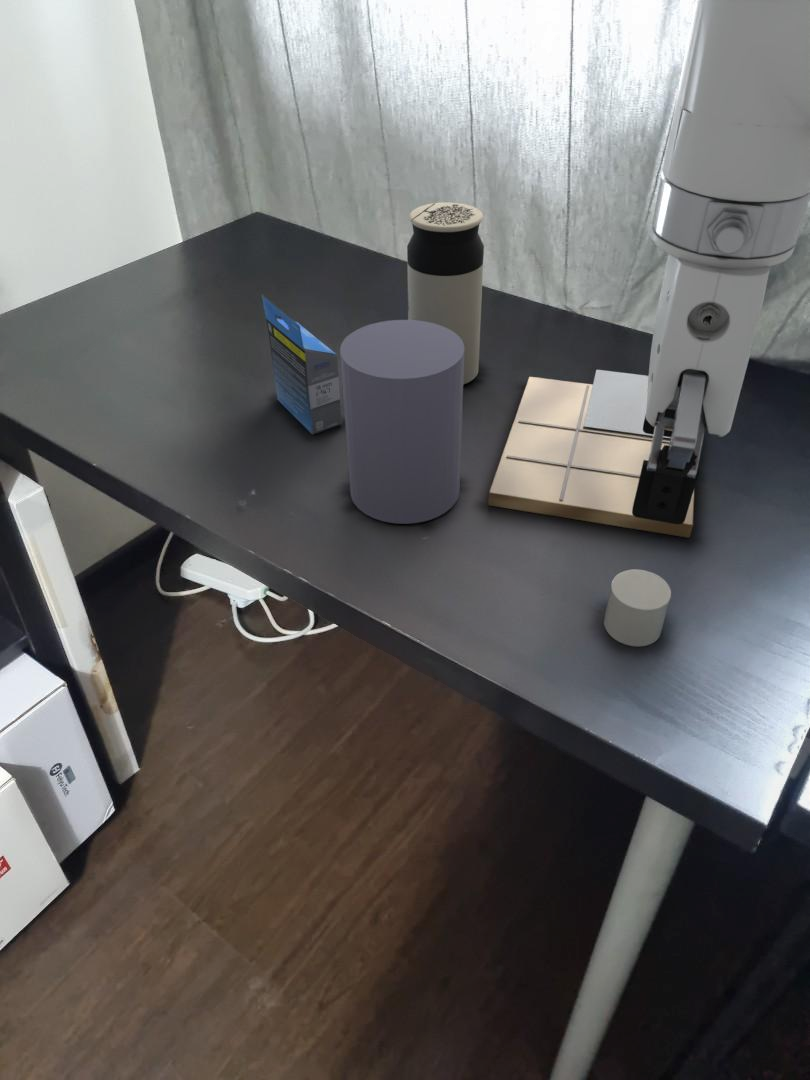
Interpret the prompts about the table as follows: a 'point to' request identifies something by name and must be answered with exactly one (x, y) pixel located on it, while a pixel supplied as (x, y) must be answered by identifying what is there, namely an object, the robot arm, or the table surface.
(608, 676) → the table surface
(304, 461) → the table surface
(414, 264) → the travel mug
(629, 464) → the board
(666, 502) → the robot arm
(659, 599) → the white squat cylinder
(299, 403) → the blue product box
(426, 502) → the container
